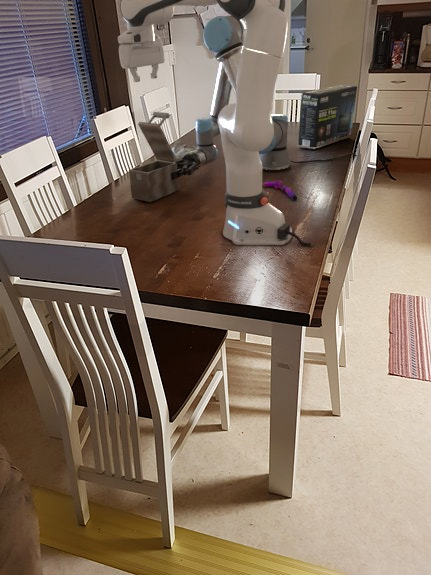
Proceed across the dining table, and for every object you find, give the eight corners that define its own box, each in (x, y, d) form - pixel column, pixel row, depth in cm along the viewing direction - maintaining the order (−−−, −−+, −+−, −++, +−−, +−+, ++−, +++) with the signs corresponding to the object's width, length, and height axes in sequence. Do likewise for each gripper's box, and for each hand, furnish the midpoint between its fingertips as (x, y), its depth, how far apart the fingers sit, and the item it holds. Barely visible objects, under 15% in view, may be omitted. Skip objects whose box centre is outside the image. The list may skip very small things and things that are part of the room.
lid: (157, 126, 168) (170, 109, 171) (137, 123, 173) (150, 107, 176) (175, 162, 182) (186, 146, 185) (156, 159, 187) (168, 144, 190)
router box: (314, 151, 231) (318, 94, 217) (296, 148, 237) (299, 92, 224) (352, 138, 251) (358, 85, 238) (335, 135, 258) (340, 83, 245)
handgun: (263, 185, 189) (263, 181, 188) (281, 183, 190) (281, 179, 189) (278, 202, 172) (278, 197, 171) (298, 200, 173) (298, 195, 172)
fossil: (184, 156, 217) (163, 136, 220) (174, 174, 223) (154, 154, 227) (205, 153, 231) (186, 134, 234) (195, 171, 237) (176, 152, 240)
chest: (150, 202, 176) (147, 173, 170) (131, 198, 180) (128, 169, 175) (178, 190, 188) (176, 163, 183) (159, 186, 193) (157, 160, 187)
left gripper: (153, 34, 165) (157, 76, 172) (113, 37, 151) (119, 83, 158) (167, 34, 162) (170, 76, 169) (128, 37, 148) (133, 84, 155)
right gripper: (215, 172, 197) (184, 187, 181) (173, 165, 207) (141, 179, 191) (214, 154, 193) (183, 169, 177) (172, 149, 203) (139, 161, 188)
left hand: (145, 80), depth 164 cm, fingers open, 8 cm apart
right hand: (161, 174), depth 184 cm, fingers closed on chest, 10 cm apart
